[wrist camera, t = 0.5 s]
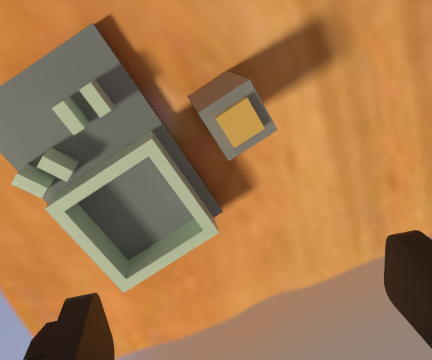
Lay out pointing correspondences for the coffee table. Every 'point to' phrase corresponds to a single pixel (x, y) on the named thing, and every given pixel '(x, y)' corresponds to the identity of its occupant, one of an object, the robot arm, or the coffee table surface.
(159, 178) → the board
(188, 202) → the end holder
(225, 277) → the coffee table surface
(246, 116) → the block
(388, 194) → the coffee table surface
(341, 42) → the coffee table surface
